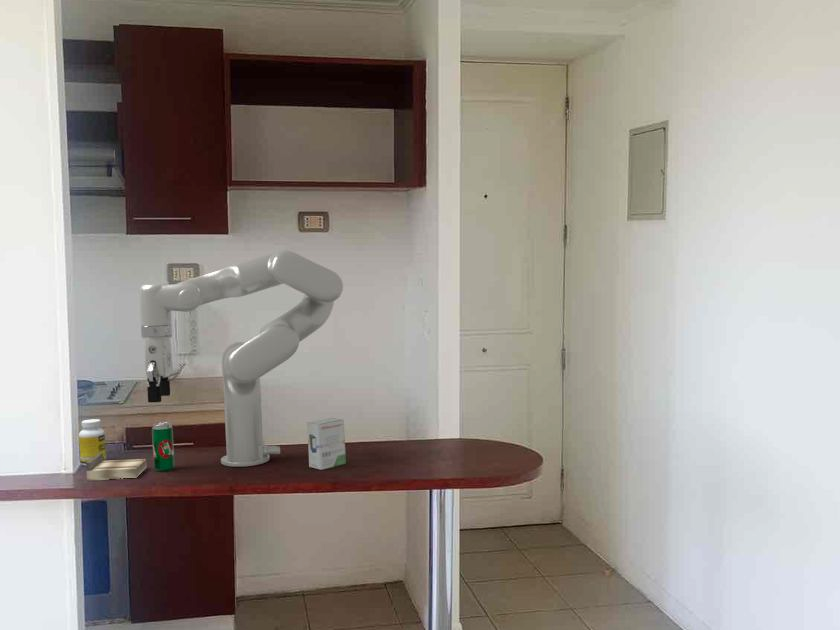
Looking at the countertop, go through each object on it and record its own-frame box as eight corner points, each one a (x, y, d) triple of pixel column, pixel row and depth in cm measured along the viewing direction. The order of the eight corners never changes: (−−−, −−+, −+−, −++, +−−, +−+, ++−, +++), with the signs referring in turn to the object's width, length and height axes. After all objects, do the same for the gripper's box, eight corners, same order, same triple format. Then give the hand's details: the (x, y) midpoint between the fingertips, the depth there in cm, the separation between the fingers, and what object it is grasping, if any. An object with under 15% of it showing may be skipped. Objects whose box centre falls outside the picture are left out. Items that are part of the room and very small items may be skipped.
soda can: (157, 467, 228) (155, 421, 227) (177, 466, 228) (174, 421, 227) (151, 472, 223) (148, 425, 222) (170, 472, 223) (168, 425, 222)
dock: (146, 468, 227) (145, 451, 227) (136, 478, 217) (135, 460, 217) (99, 470, 227) (98, 453, 226) (87, 480, 217) (86, 462, 216)
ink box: (320, 470, 220) (318, 424, 219) (308, 467, 224) (306, 421, 223) (347, 463, 226) (345, 418, 225) (334, 460, 230) (332, 416, 229)
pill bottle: (97, 467, 231) (95, 423, 230) (75, 466, 232) (72, 423, 231) (111, 460, 237) (108, 418, 236) (89, 460, 238) (86, 418, 237)
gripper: (163, 335, 214) (166, 404, 216) (178, 328, 232) (181, 393, 233) (132, 335, 214) (135, 405, 215) (150, 329, 231) (152, 393, 233)
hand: (159, 398), depth 224 cm, fingers open, 9 cm apart
